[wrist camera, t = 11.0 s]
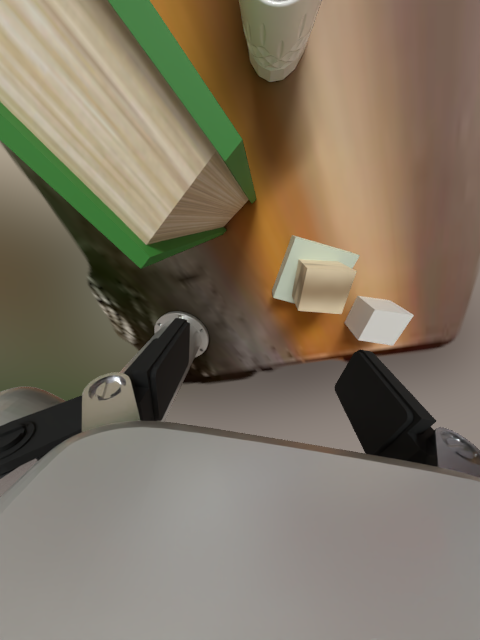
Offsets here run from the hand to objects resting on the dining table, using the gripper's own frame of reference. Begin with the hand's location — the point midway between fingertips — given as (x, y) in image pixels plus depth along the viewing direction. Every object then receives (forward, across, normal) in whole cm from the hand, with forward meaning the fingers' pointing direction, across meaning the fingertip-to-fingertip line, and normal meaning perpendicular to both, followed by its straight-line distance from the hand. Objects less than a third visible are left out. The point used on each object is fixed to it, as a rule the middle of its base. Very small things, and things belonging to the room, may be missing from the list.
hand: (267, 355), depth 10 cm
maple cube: (+21, -9, 0) cm, 23 cm away
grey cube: (+25, -22, +5) cm, 34 cm away
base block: (+25, -9, 0) cm, 27 cm away
